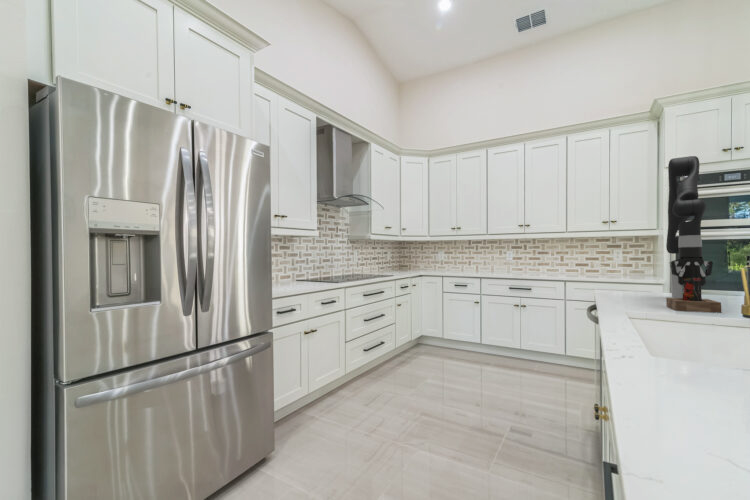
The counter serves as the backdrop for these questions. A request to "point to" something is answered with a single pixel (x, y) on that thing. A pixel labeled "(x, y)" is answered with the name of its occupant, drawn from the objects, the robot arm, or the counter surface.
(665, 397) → the counter surface
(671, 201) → the robot arm
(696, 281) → the deodorant
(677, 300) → the socket block
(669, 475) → the counter surface
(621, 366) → the counter surface
